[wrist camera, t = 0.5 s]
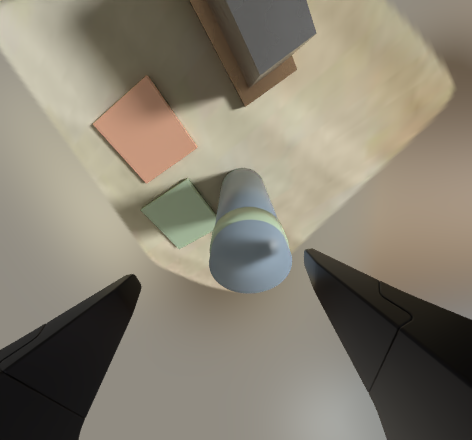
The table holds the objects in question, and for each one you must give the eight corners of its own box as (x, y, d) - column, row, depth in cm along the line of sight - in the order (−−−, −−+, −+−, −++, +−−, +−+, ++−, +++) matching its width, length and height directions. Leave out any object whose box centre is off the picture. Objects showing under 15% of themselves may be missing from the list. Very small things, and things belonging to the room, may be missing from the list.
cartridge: (211, 182, 22) (189, 255, 11) (250, 157, 21) (268, 213, 10) (235, 216, 24) (237, 303, 14) (272, 195, 23) (307, 274, 12)
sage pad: (142, 207, 24) (140, 210, 23) (187, 177, 22) (186, 179, 21) (180, 246, 27) (179, 249, 26) (222, 223, 25) (222, 225, 24)
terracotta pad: (96, 123, 19) (92, 124, 18) (148, 76, 17) (146, 75, 17) (148, 181, 22) (146, 183, 22) (197, 147, 20) (196, 148, 20)
